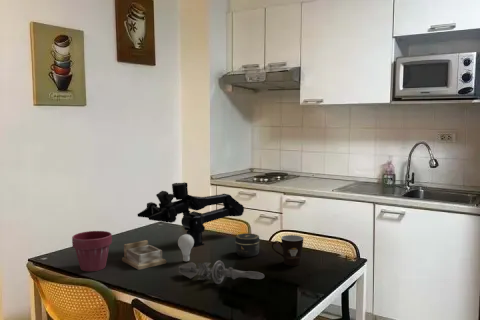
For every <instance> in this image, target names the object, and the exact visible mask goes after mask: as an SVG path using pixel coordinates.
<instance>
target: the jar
mask: <svg viewBox="0 0 480 320" xmlns="http://www.w3.org/2000/svg"><path fill="white" fill-rule="evenodd" d="M234 240H235V241H234V242H235V253H236V254H237V256H239V257H242V258H253V257H256V256H257V255H258V254H260V253H259V252H260V236H259V235H258V234H255V233H248V232H247V233H245V232H244V233H239V234H237V235H235V239H234Z"/></svg>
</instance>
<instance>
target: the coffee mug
mask: <svg viewBox="0 0 480 320" xmlns="http://www.w3.org/2000/svg"><path fill="white" fill-rule="evenodd" d="M277 243H278V244H279V245H280V246H281V248H282V249H281V250H282V253H281V252H279V251H277V250H276V248H274V244H277ZM303 245H304V237H303V236H302V235H295V234H290V235H289V234H288V235H287V234H286V235H282V236H281V241H279V240H275V241H273V242H272V244H271V248H272V250H273V251H274V252H275V253H276V254H278V255H279V256H281V257H282V258H283V264H284V265H286V266H291V267H292V266H299V265H301V261H302V255H303Z"/></svg>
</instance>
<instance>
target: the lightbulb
mask: <svg viewBox="0 0 480 320" xmlns="http://www.w3.org/2000/svg"><path fill="white" fill-rule="evenodd" d="M177 245H178V248H179V249H180V250H181V254H182V261H184V262H185V263H189V261H190V260H191V259H190V258H191V256H190V254H191V252H192V249H193V248H194V247H193V245H194V239H193V237H192V236H191V235H188V234H187V233H185V234H182V235H180V236H179V238H178V240H177Z"/></svg>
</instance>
